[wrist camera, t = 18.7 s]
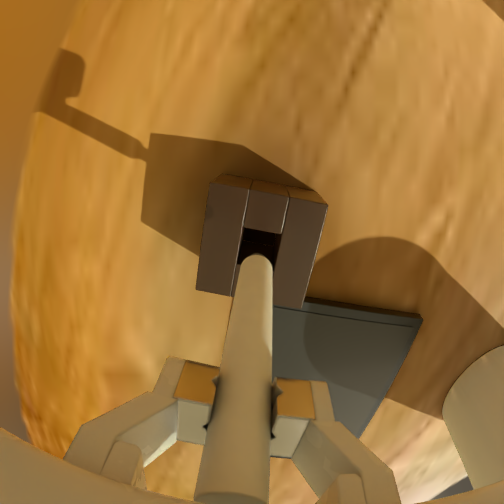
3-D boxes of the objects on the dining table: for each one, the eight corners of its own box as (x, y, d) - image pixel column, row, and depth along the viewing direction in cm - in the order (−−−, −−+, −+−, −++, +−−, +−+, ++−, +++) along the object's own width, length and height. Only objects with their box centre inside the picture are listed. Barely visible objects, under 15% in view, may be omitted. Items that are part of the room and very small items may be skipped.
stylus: (275, 250, 17) (276, 498, 5) (269, 277, 18) (260, 520, 6) (244, 244, 17) (194, 486, 5) (240, 271, 18) (191, 511, 5)
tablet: (419, 313, 27) (424, 319, 26) (342, 455, 34) (343, 461, 33) (249, 286, 26) (248, 292, 25) (218, 443, 34) (216, 450, 33)
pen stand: (317, 191, 24) (328, 204, 19) (296, 278, 26) (301, 309, 21) (221, 173, 24) (209, 181, 19) (208, 262, 26) (195, 290, 21)
